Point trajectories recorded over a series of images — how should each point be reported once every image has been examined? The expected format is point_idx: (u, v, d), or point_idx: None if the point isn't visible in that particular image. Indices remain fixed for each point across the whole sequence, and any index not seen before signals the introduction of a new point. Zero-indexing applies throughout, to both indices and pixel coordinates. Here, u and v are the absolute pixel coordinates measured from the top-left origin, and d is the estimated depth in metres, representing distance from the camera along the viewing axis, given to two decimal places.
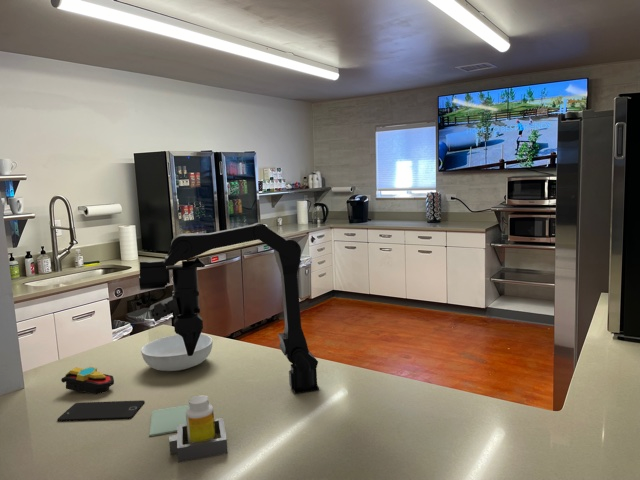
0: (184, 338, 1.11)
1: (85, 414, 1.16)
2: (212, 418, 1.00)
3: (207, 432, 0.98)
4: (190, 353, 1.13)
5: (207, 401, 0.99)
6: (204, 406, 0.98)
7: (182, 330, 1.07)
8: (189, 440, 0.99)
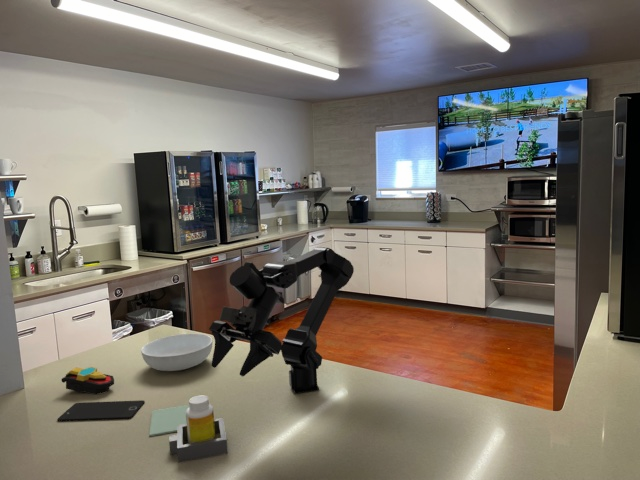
0: (254, 354, 1.03)
1: (85, 414, 1.16)
2: (212, 418, 1.00)
3: (207, 432, 0.98)
4: (243, 372, 1.03)
5: (207, 401, 0.99)
6: (204, 406, 0.98)
7: (269, 344, 1.03)
8: (189, 440, 0.99)
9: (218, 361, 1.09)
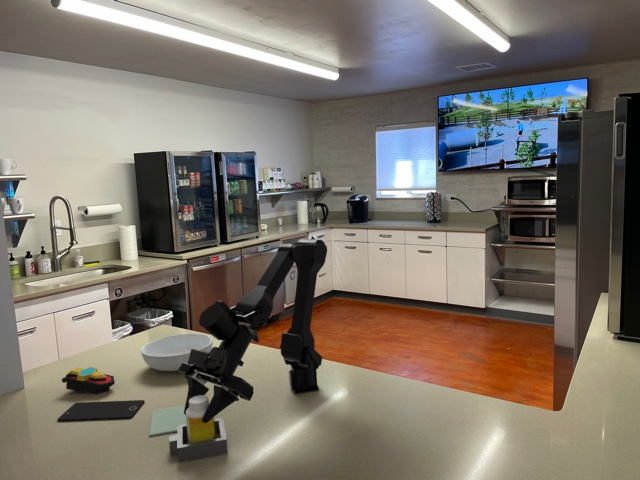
0: (217, 399, 0.98)
1: (85, 414, 1.16)
2: (212, 418, 1.00)
3: (207, 431, 0.98)
4: (206, 419, 0.97)
5: (207, 401, 0.99)
6: (204, 406, 0.98)
7: (239, 391, 0.96)
8: (189, 440, 0.99)
9: None
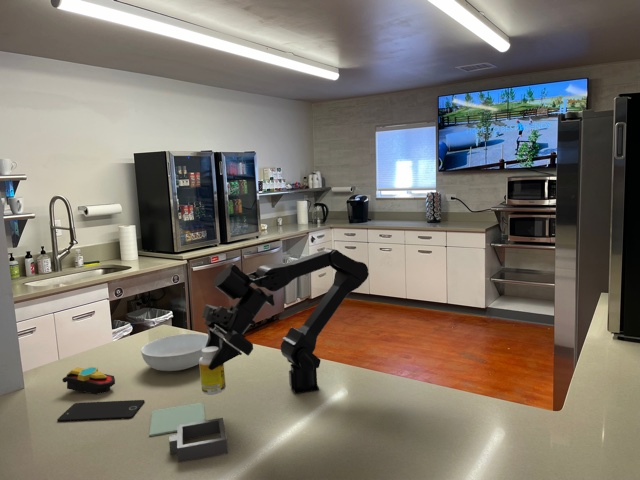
0: (221, 351, 1.10)
1: (85, 414, 1.16)
2: (220, 367, 1.12)
3: (214, 378, 1.11)
4: (211, 366, 1.10)
5: (216, 351, 1.12)
6: (212, 355, 1.11)
7: (235, 345, 1.06)
8: (201, 383, 1.13)
9: None
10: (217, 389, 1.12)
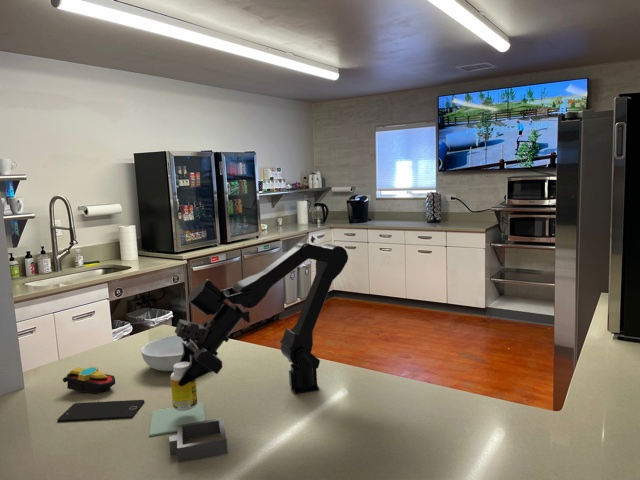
0: (191, 367, 1.09)
1: (85, 414, 1.16)
2: (190, 383, 1.11)
3: (184, 394, 1.10)
4: (181, 383, 1.09)
5: None
6: (183, 371, 1.11)
7: (203, 363, 1.05)
8: (172, 399, 1.12)
9: None
10: (187, 406, 1.11)
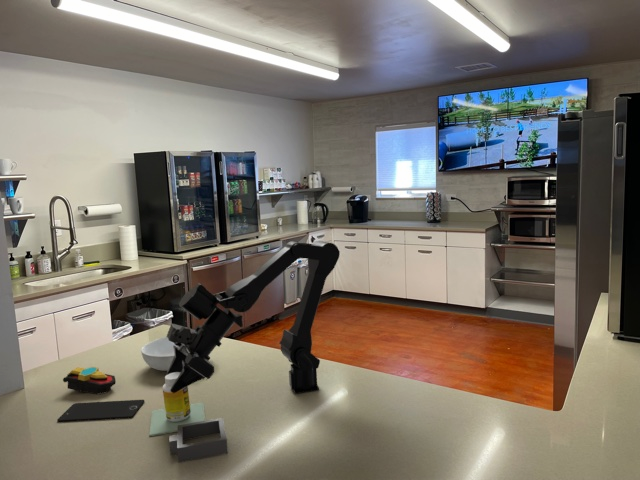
0: (183, 374, 1.07)
1: (85, 414, 1.16)
2: (183, 394, 1.10)
3: (177, 405, 1.10)
4: (174, 389, 1.08)
5: None
6: (174, 382, 1.10)
7: (194, 368, 1.04)
8: (165, 410, 1.12)
9: None
10: (181, 417, 1.10)
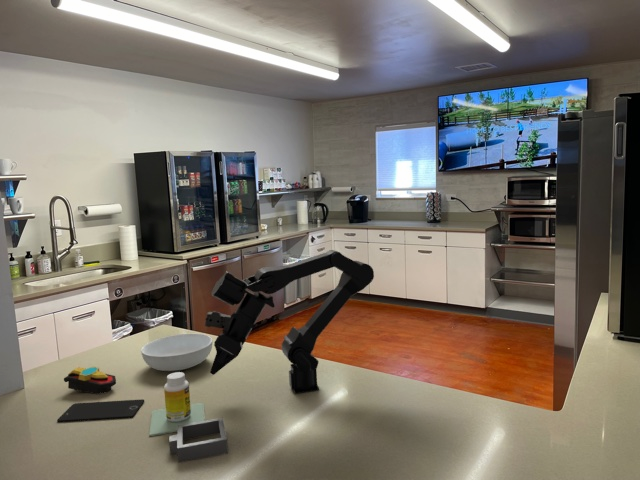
0: (217, 354, 1.13)
1: (85, 414, 1.16)
2: (184, 394, 1.11)
3: (178, 405, 1.10)
4: (213, 371, 1.14)
5: (180, 378, 1.11)
6: (176, 382, 1.10)
7: (220, 345, 1.10)
8: None
9: None
10: (181, 417, 1.10)
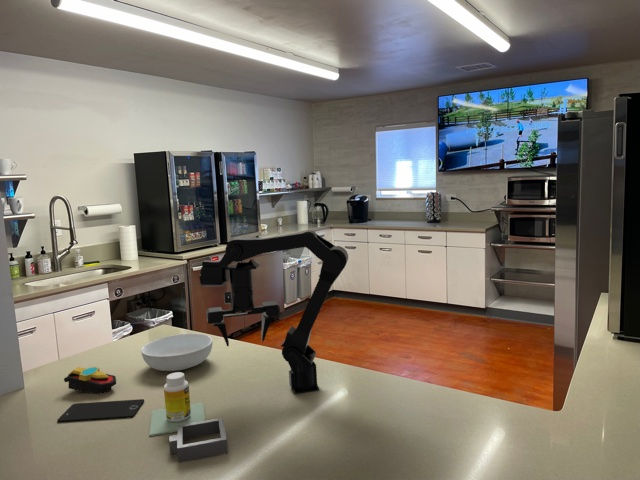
0: None
1: (85, 414, 1.16)
2: (184, 394, 1.11)
3: (177, 405, 1.10)
4: None
5: (180, 378, 1.11)
6: (176, 382, 1.10)
7: None
8: None
9: (261, 336, 1.28)
10: (181, 417, 1.10)
